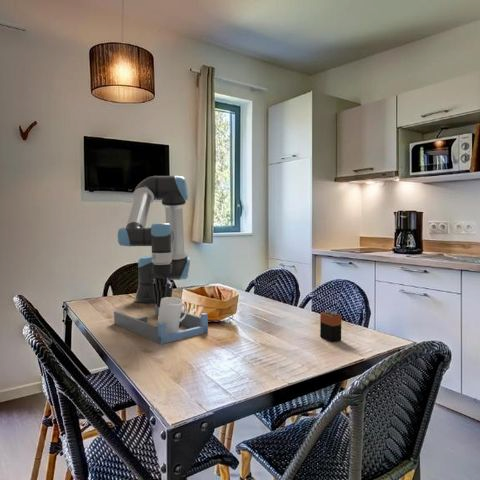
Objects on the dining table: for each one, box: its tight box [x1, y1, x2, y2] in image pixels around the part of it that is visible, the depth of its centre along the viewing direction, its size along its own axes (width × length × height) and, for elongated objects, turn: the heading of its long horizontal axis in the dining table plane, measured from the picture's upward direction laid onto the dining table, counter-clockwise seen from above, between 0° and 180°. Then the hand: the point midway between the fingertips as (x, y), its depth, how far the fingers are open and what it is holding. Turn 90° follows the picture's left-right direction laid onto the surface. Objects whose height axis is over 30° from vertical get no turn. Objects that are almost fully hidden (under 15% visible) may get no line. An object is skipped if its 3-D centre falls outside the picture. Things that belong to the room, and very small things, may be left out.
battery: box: [319, 309, 342, 343], centre depth 139 cm, size 4×7×10 cm, turn 27°
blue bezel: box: [157, 312, 209, 345], centre depth 142 cm, size 20×2×7 cm, turn 133°
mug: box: [156, 296, 188, 334], centre depth 147 cm, size 12×8×12 cm
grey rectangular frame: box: [113, 303, 201, 344], centre depth 155 cm, size 20×34×5 cm, turn 43°
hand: (162, 323), depth 153 cm, fingers closed
